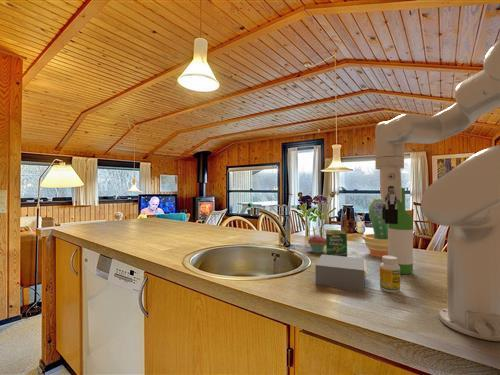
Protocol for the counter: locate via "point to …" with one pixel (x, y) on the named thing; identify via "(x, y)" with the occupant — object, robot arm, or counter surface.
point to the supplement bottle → (390, 274)
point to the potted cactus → (377, 231)
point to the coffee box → (336, 242)
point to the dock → (341, 272)
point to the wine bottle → (402, 238)
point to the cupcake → (317, 243)
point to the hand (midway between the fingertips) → (389, 221)
